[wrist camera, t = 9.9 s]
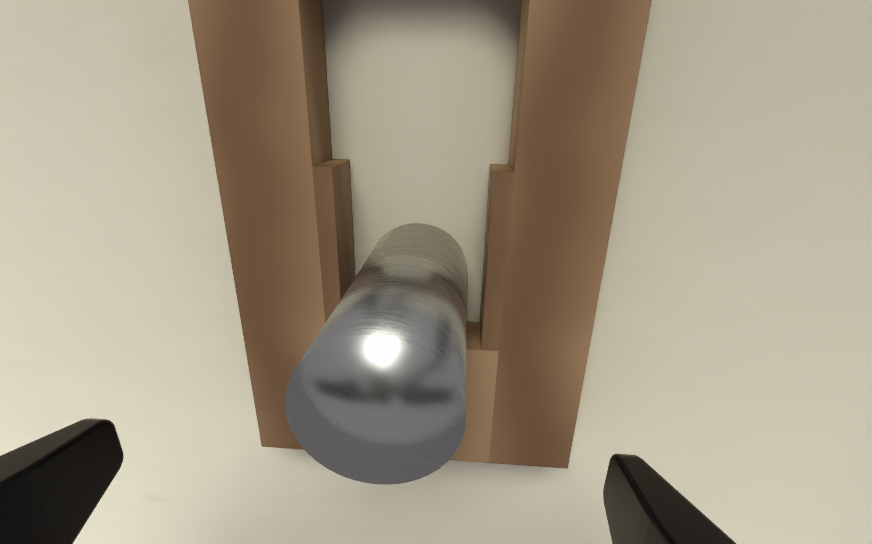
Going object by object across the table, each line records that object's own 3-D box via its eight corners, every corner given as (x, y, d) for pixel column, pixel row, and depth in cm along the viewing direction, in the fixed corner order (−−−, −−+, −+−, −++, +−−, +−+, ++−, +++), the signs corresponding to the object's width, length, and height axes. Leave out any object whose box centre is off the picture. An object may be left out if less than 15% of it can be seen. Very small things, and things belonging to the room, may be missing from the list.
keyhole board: (658, -196, 11) (698, -261, 9) (556, 430, 18) (567, 468, 16) (199, -189, 11) (147, -247, 9) (282, 412, 19) (261, 446, 17)
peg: (469, 225, 15) (471, 341, 8) (464, 315, 16) (461, 490, 9) (369, 221, 15) (274, 330, 8) (372, 311, 16) (294, 477, 9)
